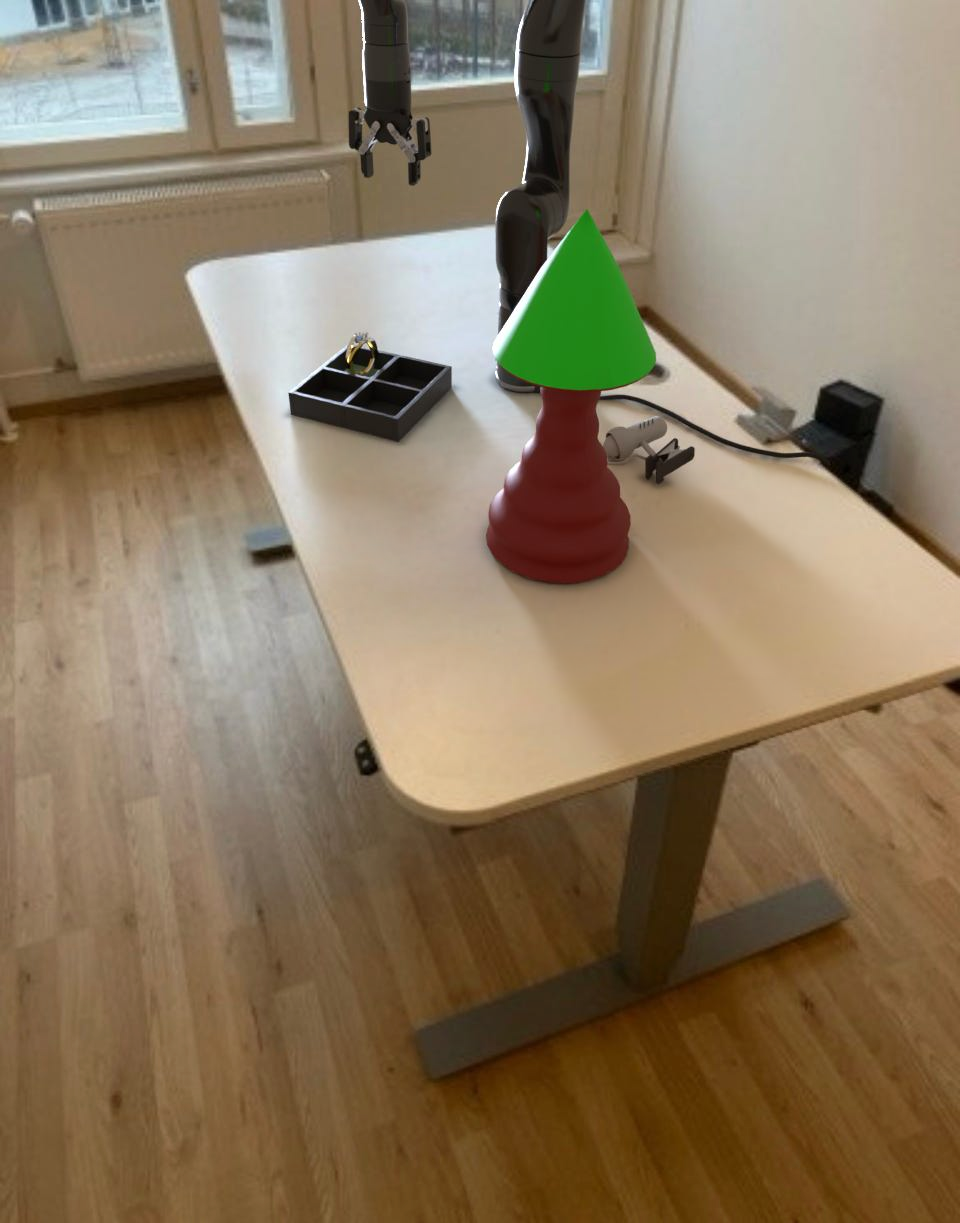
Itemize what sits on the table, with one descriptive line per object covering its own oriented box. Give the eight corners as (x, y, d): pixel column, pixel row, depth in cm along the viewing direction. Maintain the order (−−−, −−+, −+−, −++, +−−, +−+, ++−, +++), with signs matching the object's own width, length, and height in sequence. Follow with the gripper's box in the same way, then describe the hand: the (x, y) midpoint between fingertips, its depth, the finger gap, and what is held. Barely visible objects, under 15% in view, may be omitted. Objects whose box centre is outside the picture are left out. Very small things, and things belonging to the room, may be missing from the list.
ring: (371, 367, 171) (368, 324, 166) (383, 373, 169) (381, 330, 164) (342, 381, 167) (338, 337, 162) (354, 387, 165) (351, 343, 160)
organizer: (451, 388, 168) (451, 366, 165) (398, 442, 154) (397, 419, 151) (350, 364, 173) (349, 343, 171) (290, 414, 159) (288, 392, 157)
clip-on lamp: (594, 515, 145) (698, 469, 147) (592, 484, 140) (699, 437, 143) (558, 469, 152) (657, 426, 155) (554, 438, 147) (657, 395, 150)
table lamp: (541, 605, 124) (570, 255, 95) (458, 528, 136) (461, 197, 107) (658, 555, 133) (717, 220, 103) (570, 487, 145) (600, 170, 115)
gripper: (336, 73, 153) (343, 180, 164) (416, 84, 149) (418, 193, 160) (359, 64, 158) (365, 168, 169) (437, 74, 154) (438, 180, 165)
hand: (391, 180), depth 164 cm, fingers open, 8 cm apart
